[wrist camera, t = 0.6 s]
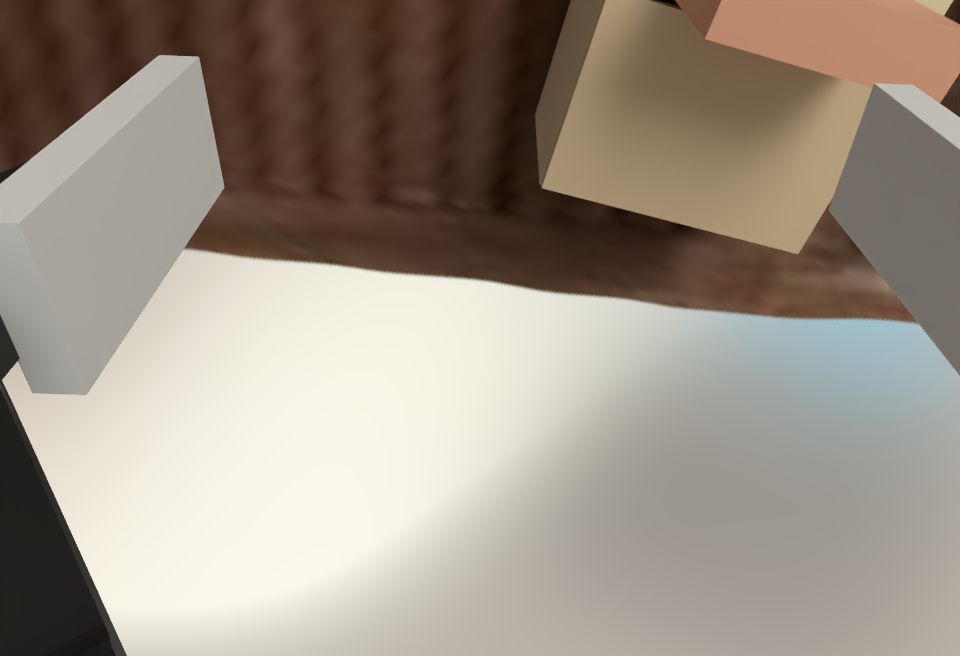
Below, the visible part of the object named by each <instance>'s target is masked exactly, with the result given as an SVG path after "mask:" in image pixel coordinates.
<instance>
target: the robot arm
mask: <svg viewBox="0 0 960 656" xmlns="http://www.w3.org/2000/svg"><path fill="white" fill-rule="evenodd" d="M223 189H224V183H223V178H222V173H221V168H220V163H219V158H218V153H217V147H216V142H215V137H214V132H213V127H212V122H211V117H210V111H209V106H208V101H207V96H206V91H205V86H204V81H203V75H202V70H201V65H200V60H199V57H190V56H164V55H159V56H158V57H156V58H155V59H154V60H153V61H151V62H150V63H149V64H148V65H146V66H145V67H144V68H143V69H142V70H140V71H139V72H138V73H137V74H135V75H134V76H133V77H132V78H130V79H129V80H128V81H127V82H125V83H124V84H123V85H122V86H121V87H119V88H118V89H117V90H116V91H114V92H113V93H112V94H111V95H109V96H108V97H107V98H106V99H104V100H103V101H102V102H101V103H100V104H98V105H97V106H96V107H95V108H93V109H92V110H91V111H90V112H88V113H87V114H86V115H85V116H84V117H82V118H81V119H80V120H79V121H77V122H76V123H75V124H74V125H72V126H71V127H70V128H69V129H67V130H66V131H65V132H64V133H63V134H61V135H60V136H59V137H58V138H56V139H55V140H54V141H53V142H51V143H50V144H49V145H48V146H46V147H45V148H44V149H43V150H42V151H40V152H39V153H38V154H37V155H35V156H34V157H33V158H32V159H30V160H29V161H27V162H25V163H22V164H20V165H18V166H16V167H13V168H11V169H9V170H6V171H4V172H2V173H0V656H127V655H126V653H125V651H124V649H123V646H122V644H121V642H120V640H119V638H118V635H117V633H116V631H115V629H114V626H113V624H112V622H111V620H110V618H109V615H108V613H107V611H106V609H105V607H104V604H103V602H102V600H101V598H100V595H99V593H98V591H97V589H96V587H95V585H94V582H93V580H92V578H91V576H90V574H89V571H88V569H87V567H86V565H85V562H84V560H83V558H82V556H81V553H80V551H79V549H78V547H77V545H76V542H75V540H74V538H73V536H72V534H71V532H70V529H69V527H68V525H67V523H66V520H65V518H64V516H63V514H62V512H61V509H60V507H59V505H58V503H57V500H56V498H55V496H54V494H53V492H52V489H51V487H50V485H49V483H48V481H47V478H46V476H45V474H44V472H43V470H42V467H41V465H40V463H39V461H38V458H37V456H36V454H35V452H34V450H33V448H32V445H31V443H30V441H29V438H28V436H27V434H26V432H25V430H24V427H23V425H22V423H21V421H20V419H19V417H18V414H17V412H16V410H15V407H14V405H13V403H12V401H11V399H10V397H9V395H8V392H7V390H6V388H5V386H4V384H3V382H2V379H3V378H4V377H5V375H6V374H7V373H8V372H9V370H10V369H11V368H12V367H13V366H14V365H15V363H16V362H17V361H18V362H19V364H20V367H21V369H22V371H23V373H24V375H25V377H26V380H27V382H28V384H29V386H30V389H31V391H32V393H49V394H79V395H87V393H88V392H89V390H90V389H91V387H92V386H93V384H94V383H95V381H96V380H97V378H98V377H99V375H100V373H101V372H102V371H103V369H104V368H105V366H106V365H107V363H108V362H109V360H110V359H111V357H112V356H113V354H114V353H115V351H116V350H117V348H118V347H119V345H120V344H121V342H122V341H123V339H124V338H125V336H126V335H127V333H128V332H129V330H130V329H131V327H132V326H133V324H134V323H135V321H136V320H137V318H138V317H139V315H140V313H141V312H142V311H143V309H144V308H145V306H146V305H147V303H148V302H149V300H150V299H151V297H152V296H153V294H154V293H155V291H156V289H157V288H158V287H159V285H160V284H161V282H162V281H163V279H164V277H165V276H166V275H167V273H168V272H169V270H170V268H171V267H172V266H173V264H174V262H175V261H176V260H177V258H178V256H179V255H180V253H181V252H182V250H183V249H184V247H185V246H186V244H187V243H188V241H189V240H190V238H191V237H192V235H193V234H194V232H195V231H196V229H197V228H198V226H199V225H200V223H201V222H202V220H203V219H204V217H205V216H206V214H207V213H208V211H209V210H210V208H211V207H212V205H213V204H214V202H215V201H216V199H217V198H218V196H219V195H220V193H221V192H222V190H223ZM829 211H830V213H831V214H832V215H833V216H834V218H835V219H836V220H837V221H838V223H839V224H840V225H841V227H842V228H843V229H844V230H845V232H846V233H847V234H848V235H849V237H850V238H851V239H852V240H853V242H854V243H855V244H856V245H857V247H858V248H859V249H860V250H861V252H862V253H863V254H864V255H865V257H866V258H867V259H868V260H869V262H870V263H871V264H872V266H873V267H874V268H875V269H876V271H877V272H878V273H879V274H880V276H881V277H882V278H883V279H884V281H885V282H886V283H887V284H888V286H889V287H890V288H891V289H892V291H893V292H894V293H895V294H896V296H897V297H898V298H899V299H900V301H901V302H902V303H903V304H904V306H905V307H906V308H907V310H908V311H909V312H910V313H911V315H912V316H913V317H914V318H915V320H916V321H917V322H918V323H919V325H920V326H921V327H922V328H923V330H924V331H925V332H926V333H927V335H928V336H929V337H930V338H931V340H932V341H933V342H934V343H935V345H936V346H937V347H938V348H939V350H940V351H941V352H942V353H943V355H944V356H945V357H946V359H947V360H948V361H949V362H950V363H951V365H952V366H953V367H954V369H955V370H956V371H957V372H958V374H959V375H960V117H958V116H957V115H955V114H954V113H952V112H951V111H950V110H948V109H947V108H945V107H944V106H943V105H941V104H940V103H938V102H937V101H936V100H934V99H933V98H931V97H930V96H928V95H927V94H926V93H924V92H923V91H921V90H920V89H919V88H917V87H916V86H914V85H908V84H882V83H874V85H873V88H872V91H871V93H870V96H869V99H868V102H867V104H866V107H865V110H864V113H863V116H862V118H861V121H860V124H859V127H858V129H857V132H856V135H855V138H854V140H853V143H852V146H851V149H850V151H849V154H848V157H847V160H846V163H845V165H844V168H843V171H842V174H841V176H840V179H839V182H838V185H837V187H836V190H835V193H834V196H833V199H832V201H831V204H830V207H829Z"/></svg>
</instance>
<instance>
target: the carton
mask: <svg viewBox="0 0 960 656" xmlns="http://www.w3.org/2000/svg"><path fill="white" fill-rule="evenodd" d="M871 91H872V88H871V87H868V86H864V85H861V84H857V83H854V82H850V81H847V80H844V79H840V78H837V77H833V76H830V75H826V74H823V73H820V72H816V71H813V70H809V69H806V68H802V67H799V66H796V65H792V64H789V63H785V62H782V61H778V60H775V59H772V58H768V57H765V56H761V55H758V54H754V53H751V52H748V51H744V50H741V49H737V48H734V47H730V46H727V45H724V44H720V43H717V42H713V41H710V40H706V39H704V37H703V36H702V35H701V33H700V32H699V31H698V29H697V28H696V27H695V26H694V24H693V23H692V22H691V20H690V19H689V18H688V17H687V15H686V14H685V13H684V11H683V10H682V9H681V7H680V6H679V5H678V4H677V2H676V1H675V0H571V1H570V4H569V7H568V10H567V13H566V17H565V20H564V23H563V26H562V29H561V33H560V36H559V39H558V42H557V45H556V49H555V52H554V55H553V58H552V61H551V65H550V68H549V71H548V74H547V77H546V81H545V84H544V87H543V90H542V93H541V97H540V100H539V103H538V106H537V109H536V112H535V123H536V138H537V153H538V168H539V183H540V185H541V186H542V188H543V189H547V190H551V191H555V192H558V193H562V194H566V195H570V196H574V197H578V198H582V199H586V200H590V201H593V202H597V203H601V204H605V205H609V206H613V207H617V208H621V209H625V210H628V211H632V212H636V213H640V214H644V215H648V216H652V217H656V218H660V219H663V220H667V221H671V222H675V223H679V224H683V225H687V226H691V227H695V228H698V229H702V230H706V231H710V232H714V233H718V234H722V235H726V236H730V237H733V238H737V239H741V240H745V241H749V242H753V243H757V244H761V245H765V246H768V247H772V248H776V249H780V250H784V251H788V252H792V253H796V254H798V253H799V252H800V250H801V248H802V247H803V245H804V243H805V242H806V240H807V239H808V237H809V235H810V234H811V232H812V230H813V229H814V227H815V225H816V224H817V222H818V221H819V219H820V217H821V216H822V214H823V212H824V211H825V209H826V207H827V206H828V204H829V203H830V201H831V199H832V198H833V196H834V193H835V190H836V187H837V185H838V182H839V179H840V176H841V174H842V171H843V168H844V165H845V163H846V160H847V157H848V154H849V151H850V149H851V146H852V143H853V140H854V138H855V135H856V132H857V129H858V127H859V124H860V121H861V118H862V116H863V113H864V110H865V107H866V104H867V102H868V99H869V96H870V93H871Z"/></svg>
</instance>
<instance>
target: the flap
mask: <svg viewBox="0 0 960 656" xmlns="http://www.w3.org/2000/svg"><path fill="white" fill-rule="evenodd" d="M675 1H676V2H677V4H678V5H679V6H680V7H681V9H682V10H683V11H684V13H685V14H686V15H687V17H688V18H689V19H690V20H691V22H692V23H693V24H694V26H695V27H696V28H697V29H698V31H699V32H700V33H701V35H702V36H703V37H704V39H706V40H710V41H713V42H717V43H720V44H724V45H727V46H730V47H734V48H737V49H741V50H744V51H748V52H751V53H754V54H758V55H761V56H765V57H768V58H772V59H775V60H778V61H782V62H785V63H789V64H792V65H796V66H799V67H802V68H806V69H809V70H813V71H816V72H820V73H823V74H826V75H830V76H833V77H837V78H840V79H844V80H847V81H850V82H854V83H857V84H861V85H864V86H868V87H871V88H873V85H874V83H882V84H908V85H914V86H916V87H917V88H919V89H920V90H921V91H923V92H924V93H926V94H927V95H928V96H930V97H931V98H933V99H934V100H936V101H937V102H938V103H940V102H941V101H942V99H943V98H944V96H945V95H946V93H947V92H948V90H949V88H950V87H951V85H952V84H953V82H954V81H955V79H956V78H957V76H958V75H959V73H960V24H958V23H956V22H954V21H952V20H950V19H948V18H946V17H944V15H945V13H946V11H947V10H948V8H949V7H950V5H951V3H952V2H953V0H675Z"/></svg>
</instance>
